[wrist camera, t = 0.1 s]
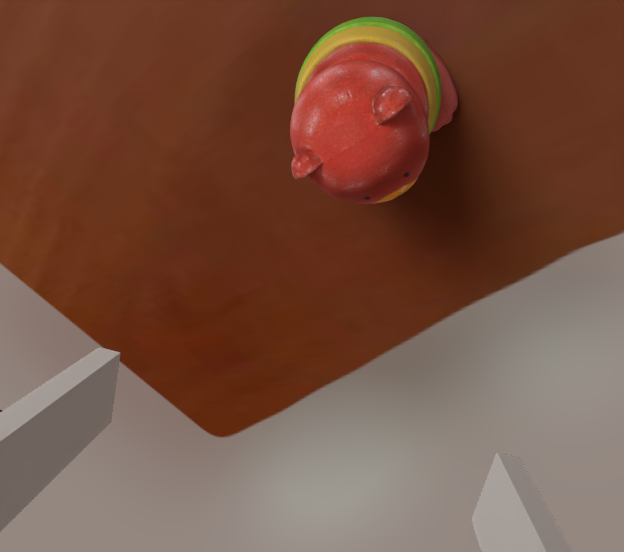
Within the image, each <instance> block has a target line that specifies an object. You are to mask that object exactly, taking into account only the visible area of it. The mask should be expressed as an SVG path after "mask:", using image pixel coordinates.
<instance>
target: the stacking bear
mask: <svg viewBox="0 0 624 552" xmlns="http://www.w3.org/2000/svg"><path fill="white" fill-rule="evenodd" d="M457 106H458V95H457V91H456V88H455V85H454V82H453V80H452V77H451V75H450V73H449V71H448V69H447V67H446V66H445V64H444V62H443V61H442V59H441V58H440V57H439V55H438V54H437V53H436V52H435V50H434V49H433V48H432V47H431V46H430V45H429V44H428V43H427V42H426V41H425V40H424V39H423V38H421V37H420V36H419V35H418V34H416V33H415V32H414V31H412V30H411V29H410V28H408V27H407V26H405V25H403V24H401V23H399V22H397V21H393V20H390V19H387V18H381V17H363V18H358V19H353V20H350V21H347V22H345V23H342V24H340V25H338V26H337V27H335V28H333V29H332V30H330V31H329V32H328V33H326V34H325V35H324V36H323V37H322V38H321V39H320V40H319V41H318V42H317V43H316V44H315V45H314V47H313V48H312V49H311V51H310V52H309V54H308V56H307V57H306V59H305V61H304V63H303V65H302V67H301V70H300V73H299V76H298V80H297V84H296V90H295V105H294V108H293V112H292V117H291V126H290V135H291V142H292V147H293V151H294V154H295V156H294V158H293V160H292V164H291V169H292V174H293V176H294V178H295V179H296V180H300V179H302V178H304V177H306V176H307V175H308V176H309V178H310V179H311V180H312V181H313V182H314V183H315V184H316V185H317V186H318V187H319V188H320V189H321V190H323V191H324V192H326V193H328V194H329V195H331V196H333V197H335V198H338V199H341V200H343V201H347V202H352V203H359V204H373V203H380V202H385V201H389V200H392V199H395V198H398V197H400V196H401V195H402V194H404V193H405V192H406V191H407V190H408V189H409V188H410V187H411V186H412V185H413V184H414V183H415V181H416V180H417V178H418V177H419V175H420V173H421V172H422V170H423V168H424V166H425V164H426V161H427V158H428V154H429V147H430V133H431V132H435V131H438V130H439V129H440V128H441V127H442V126H443V125H446V124H448V123H450V122H451V120H452V118H453V112H454V111H455V110H456V109H457Z"/></svg>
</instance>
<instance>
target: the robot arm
mask: <svg viewBox="0 0 624 552" xmlns="http://www.w3.org/2000/svg"><path fill="white" fill-rule="evenodd" d="M119 359H120V352H116V351H112V350H108V349H105V348H101V347H99V348H97V349H96V350H94V351H93V352H91V353H90V354H88V355H87V356H85V357H84V358H82V359H81V360H79V361H78V362H76V363H75V364H73V365H71V366H70V367H69V368H67V369H65V370H64V371H63V372H61V373H59V374H58V375H56V376H55V377H53V378H52V379H50V380H49V381H47V382H46V383H44V384H43V385H41V386H40V387H38V388H37V389H35V390H34V391H32V392H30V393H29V394H27V395H26V396H25V397H23V398H21V399H20V400H18V401H17V402H15V403H14V404H12V405H11V406H9V407H8V408H6V409H5V410H3V411H2V410H0V532H1V531H2V529H4V528H5V527H6V525H8V524H9V522H11V520H13V519H14V518H15V517H16V516H17V515H18V514H19V513H20V512H21V511H22V510H23V509H24V508H25V507H26V506H27V505H28V504H29V503H30V502H31V501H32V500H33V499H34V498H35V497H36V496H37V495H38V494H39V493H40V492H41V491H42V490H43V489H44V488H45V487H46V486H47V485H48V484H49V483H50V482H51V481H52V480H53V479H54V478H55V477H56V476H57V475H58V474H59V473H60V472H61V471H62V470H63V469H64V468H65V467H66V466H67V465H68V464H69V463H70V462H71V461H72V460H73V459H74V458H75V457H76V456H77V455H78V454H79V453H80V452H81V451H82V450H83V449H84V448H85V447H86V446H87V445H88V444H89V443H90V442H91V441H92V440H93V439H94V438H95V437H96V436H97V435H98V434H99V433H100V432H101V431H103V430H104V429H105V428H106V427H107V425H109V423H111V419H112V412H113V404H114V397H115V389H116V382H117V373H118V367H119ZM471 521H472V524H473V527H474V530H475V533H476V536H477V539H478V543H479V546H480V549H481V552H573V551H572V549H571V547H570V545H569V544H568V542H567V540H566V538H565V537H564V535H563V533H562V531H561V530H560V528H559V526H558V524H557V523H556V521H555V519H554V517H553V515H552V514H551V512H550V510H549V508H548V507H547V505H546V503H545V501H544V500H543V498H542V496H541V494H540V492H539V491H538V489H537V487H536V485H535V484H534V482H533V480H532V478H531V477H530V475H529V473H528V471H527V470H526V468H525V466H524V464H523V463H522V461H521V459H520V458H519V457H515V456H511V455H508V454H503V453H500V452H497V453H496V455H495V458H494V460H493V463H492V466H491V468H490V471H489V474H488V476H487V479H486V481H485V484H484V487H483V489H482V492H481V495H480V497H479V500H478V503H477V505H476V508H475V511H474V513H473V516H472V519H471Z"/></svg>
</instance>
